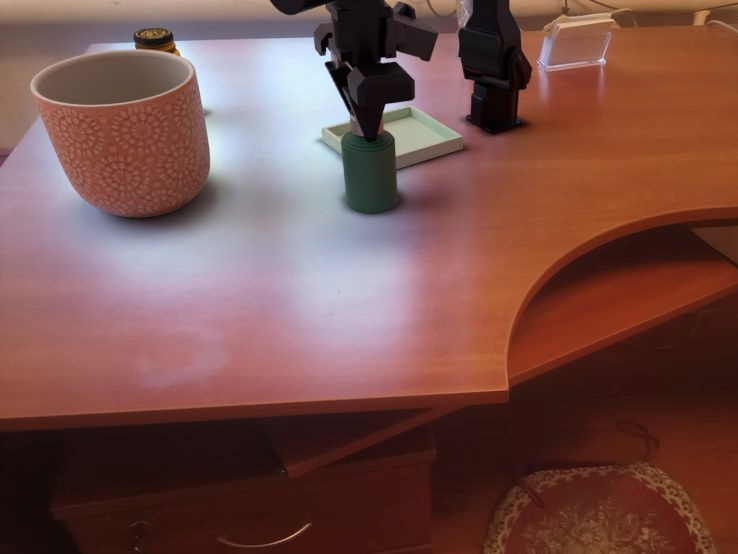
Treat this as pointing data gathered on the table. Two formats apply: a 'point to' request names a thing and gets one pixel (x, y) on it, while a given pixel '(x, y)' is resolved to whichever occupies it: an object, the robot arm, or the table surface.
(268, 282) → the table surface
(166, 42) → the condiment
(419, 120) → the tray
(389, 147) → the bottle
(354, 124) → the cap
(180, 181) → the planter
